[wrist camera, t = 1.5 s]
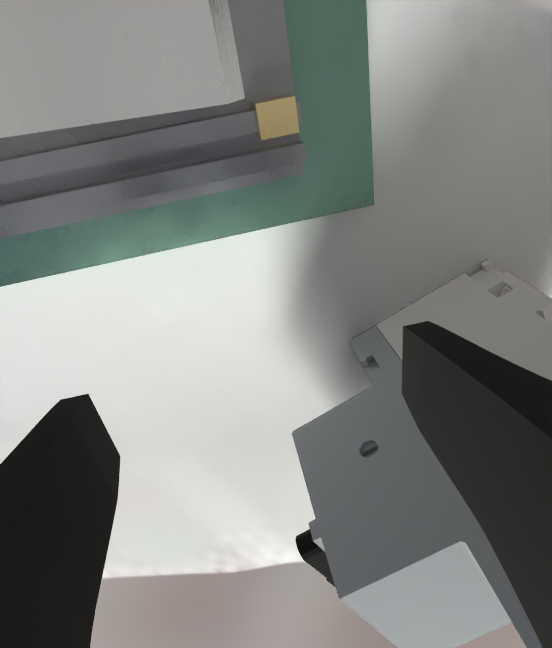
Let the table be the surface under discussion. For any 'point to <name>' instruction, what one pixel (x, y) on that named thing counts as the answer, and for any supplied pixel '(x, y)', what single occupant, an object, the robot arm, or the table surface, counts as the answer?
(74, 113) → the grey flat bar
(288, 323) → the table surface
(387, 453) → the circuit breaker
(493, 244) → the table surface
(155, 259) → the table surface
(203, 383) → the table surface
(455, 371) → the robot arm
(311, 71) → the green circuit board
